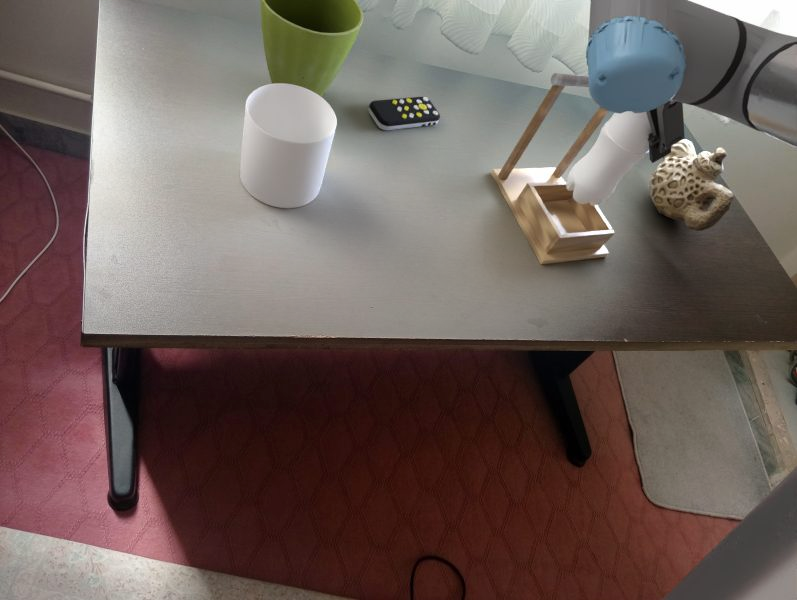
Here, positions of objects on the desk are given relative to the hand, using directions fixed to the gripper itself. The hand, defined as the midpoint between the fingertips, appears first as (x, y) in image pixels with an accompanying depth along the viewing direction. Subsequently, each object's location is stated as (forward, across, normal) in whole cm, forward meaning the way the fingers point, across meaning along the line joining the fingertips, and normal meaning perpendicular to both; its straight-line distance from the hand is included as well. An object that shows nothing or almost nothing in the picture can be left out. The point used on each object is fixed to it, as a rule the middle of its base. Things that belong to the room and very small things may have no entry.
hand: (644, 136), depth 77 cm
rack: (+12, -3, -16) cm, 20 cm away
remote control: (-1, -28, -29) cm, 40 cm away
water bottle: (+6, 0, -11) cm, 12 cm away
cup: (-19, -15, -47) cm, 53 cm away
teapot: (+32, -1, +3) cm, 32 cm away
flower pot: (-13, -33, -42) cm, 55 cm away
